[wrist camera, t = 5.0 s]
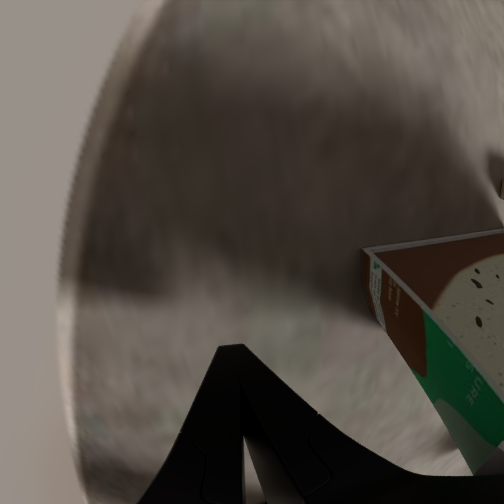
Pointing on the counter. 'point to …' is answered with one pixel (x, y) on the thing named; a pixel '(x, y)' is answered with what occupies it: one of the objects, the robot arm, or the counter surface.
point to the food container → (449, 330)
